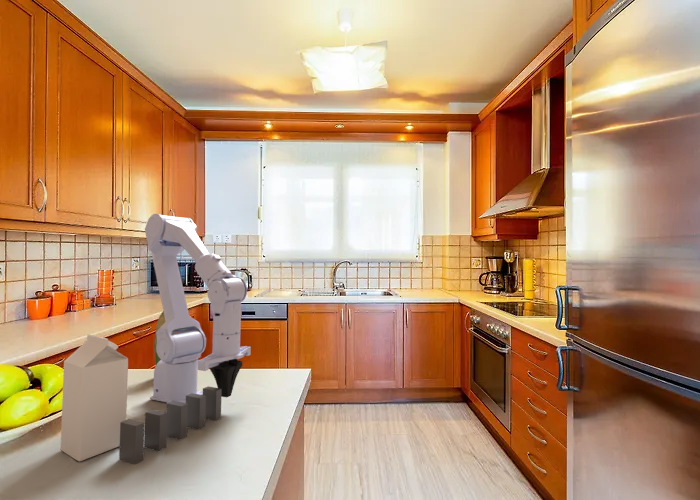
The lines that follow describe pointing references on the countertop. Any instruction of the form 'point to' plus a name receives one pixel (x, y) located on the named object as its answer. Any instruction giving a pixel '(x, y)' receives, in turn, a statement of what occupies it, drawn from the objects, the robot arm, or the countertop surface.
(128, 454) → the domino end
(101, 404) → the milk carton
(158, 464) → the countertop surface
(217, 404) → the domino
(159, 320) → the vegetable
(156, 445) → the domino
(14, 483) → the countertop surface
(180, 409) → the domino
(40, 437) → the countertop surface
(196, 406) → the domino
